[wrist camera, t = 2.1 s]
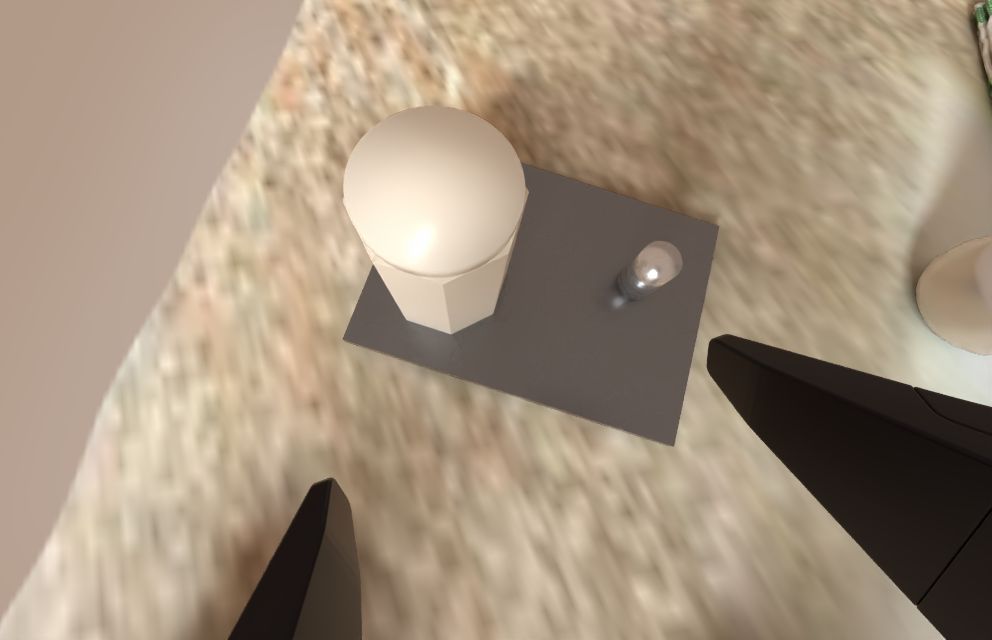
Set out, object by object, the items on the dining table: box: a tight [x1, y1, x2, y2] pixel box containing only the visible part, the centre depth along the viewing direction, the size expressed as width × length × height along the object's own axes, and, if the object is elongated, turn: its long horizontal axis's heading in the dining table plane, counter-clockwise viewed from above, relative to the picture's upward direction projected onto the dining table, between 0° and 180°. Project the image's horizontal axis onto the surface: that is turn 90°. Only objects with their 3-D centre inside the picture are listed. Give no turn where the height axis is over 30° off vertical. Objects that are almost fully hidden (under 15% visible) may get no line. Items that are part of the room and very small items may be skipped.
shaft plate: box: [343, 163, 719, 446], centre depth 23 cm, size 18×13×4 cm
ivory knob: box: [342, 106, 529, 334], centre depth 19 cm, size 6×6×10 cm
